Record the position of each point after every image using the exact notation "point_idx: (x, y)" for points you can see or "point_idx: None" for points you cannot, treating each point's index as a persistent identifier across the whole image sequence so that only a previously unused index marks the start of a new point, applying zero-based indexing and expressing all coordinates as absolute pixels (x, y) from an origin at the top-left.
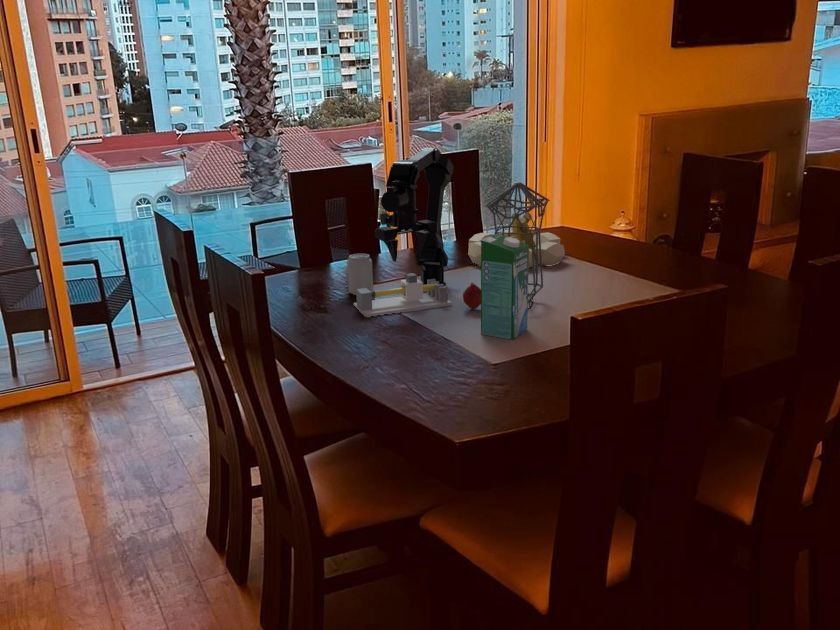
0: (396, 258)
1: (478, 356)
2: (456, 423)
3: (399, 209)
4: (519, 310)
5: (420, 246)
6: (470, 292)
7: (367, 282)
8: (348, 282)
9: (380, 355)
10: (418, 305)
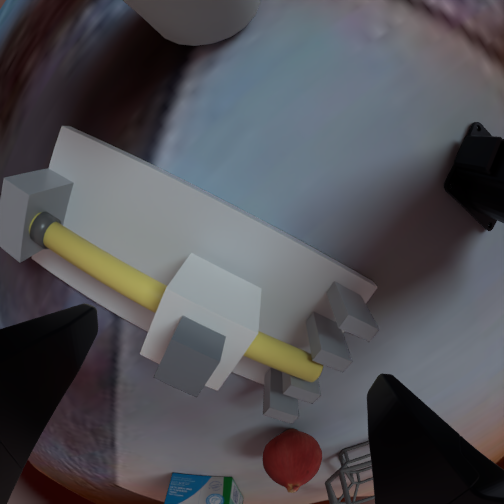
0: (82, 358)
1: (115, 476)
2: (40, 466)
3: None
4: None
5: (398, 461)
6: (270, 476)
7: (176, 27)
8: None
9: None
10: None
